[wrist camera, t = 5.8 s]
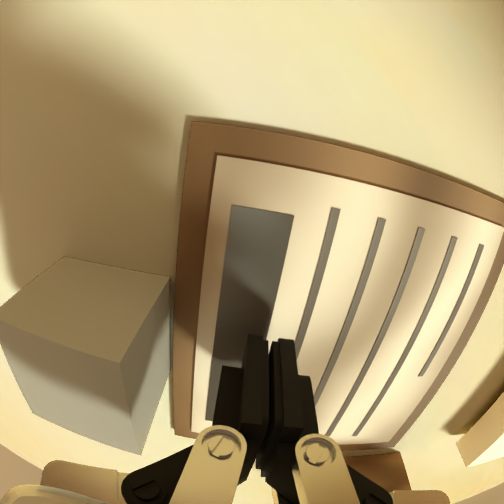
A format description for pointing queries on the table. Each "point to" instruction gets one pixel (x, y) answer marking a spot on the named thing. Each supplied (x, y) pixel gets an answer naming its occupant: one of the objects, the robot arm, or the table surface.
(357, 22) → the table surface
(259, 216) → the brown white flat panel
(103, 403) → the block
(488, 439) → the bracket
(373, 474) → the walnut block
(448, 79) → the table surface
